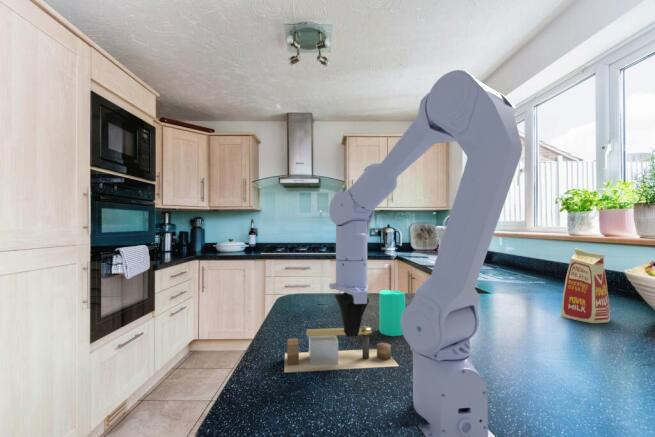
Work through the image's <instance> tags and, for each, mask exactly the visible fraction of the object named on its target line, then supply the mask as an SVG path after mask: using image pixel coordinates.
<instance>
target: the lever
mask: <svg viewBox="0 0 655 437" xmlns="http://www.w3.org/2000/svg"><path fill="white" fill-rule="evenodd" d="M362 334H363V335H369V336H370V335H372V327H371V326H366V325H363V326H360V330H359V334H358V335H362ZM330 335H336V336H346V334H345V331H344V327H333V328H332V327H331V328H329V327H328V328H327V327H326V328H310V329H309V328H306V336H307V337H309V336H330Z"/></svg>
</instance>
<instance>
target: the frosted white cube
mask: <svg viewBox="0 0 655 437" xmlns="http://www.w3.org/2000/svg"><path fill="white" fill-rule="evenodd" d="M338 351H339V339H338V335H330V336H308V352H309V361H310V366H313V365H332V364H338Z"/></svg>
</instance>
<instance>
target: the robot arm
mask: <svg viewBox="0 0 655 437" xmlns="http://www.w3.org/2000/svg"><path fill="white" fill-rule="evenodd" d="M516 110H517V108H516V106H515V105H514V104H513V103H512V102H511V101H510V100H509V99H508V97H506V96H505V95H504V94H503V93H501V92H499V91H497V90H495V89H492V88H491V87H489V86H487V85H486V84H484V83H483V82H481V81H479V80H478V79H476V77H475V76H473V75H472V74H470V73H469V72H468V71H466V70H462V69H461V70H460V69H456V70H451V71H449V72H447V73H445V74H443V75H442V76H440V77H439V79H437V80H436V82H434V84H433V86H432V87H431V89H430V90H429V92H427V94H425V96H423V97H422V99H421V100H420V103H419V107H418V111H417V112H418V113H417V116H416V117H415V118H414V120H413V121H412V122H411V124H410V125H409V126H408V127H407V128H406V129H405V131H404V133H403V134H402V135H401V137H400V138H399V139H398V140H397V142H396V143H395V145H394V146H393V147H392V148H391V150H390V151H389V152H388V154H387V155H386V156H385V158H384V159H383V160H382V161H381V162H380V163H379V162H378V163H371V164H369V165H367V166H366V167H365V168H364V169H363V173H362V174H361V175H360V176H359V177H358V178H357V179H356V181H355V182H354V183H353V184H352V185H351V186H350V187H349V189H345V190H344V191H342V192H341V191H339V192H336V193H335V194H334V195H333V197H332V198H331V200H330V203H329V211H328V212H329V217H330V219H331V221H332V222H333V223H334V224H335V282H334V283H333V282H332V283H329V285H328V286H329V287H328V288H329V289H330V290H336V291H339V292H343V293H340V294H339V293H338V294H335V295H334V298H335V299H336V302H337V304H338V307H339V310H340V313H341V318H342V326H343V328H344V331H345V334H346V335H345V337H348V338H349V337H358V336H359V335H360V334H359V330H360V327H361V323H362V319H363V316H364V314H365V310H366V308H367V306H368V304H369V303H370V298H369V297H368V290H369V284H368V234H369V232H370V228H371V223H372V220H373V218H374V216H375V209H377V208H378V207H379V205H380V204H382V203H383V202H384V200H386V199H387V197H389V196H390V195H391V194H392V193H393V192H394V191H395V190H396V189H397V187H398V177H399V176H400V175H401V174H403V172H405V171H406V170H407V169H408V168H409V167H411V165H413V164H414V163H415V162H416V161H417V160H419V158H421V157H422V156H423V155H424V154H425V153H426V152H427V151H428V150H430V149H431V148H432V147H433V146H434V145H436V144H444V143H445V144H446V143H455V142H457V144H458V145H459V147H460V148H461V150H462V151H463V152H464V154H465V155H466V161H465V162H466V163H465V166H464V167H463V172H462V175H461V179H460V182H459V185H458V189H457V191H456V195H455V198H454V200H453V204H452V207H451V211H450V214H449V217H448V221H447V224H446V225H445V226H446V229H445V233H444V236H443V239H442V242H441V245H440V249H439V248H438V250H439V252H438V251H437V255H436V258H435V262H434V265H433V268H432V271H431V275H430V276H429V277H428V278H426V280H425V281H424V282H423V283H422V284H421V285H420V286H419V287H418V288H417V289H416V291H415V293H414V296H413V299H412V301H411V302H410V303H409V304H408V305H407V306H405V309H404V311H403V313H402V316H401V329H402V333H403V335H402V336H403V337H404V339H405V341H406V342H407V344H408V345H409V350H410V351H412V384H413V385H412V388H413V389H412V391H413V392H412V394H413V396H412V398H413V399H412V400H413V401H412V402H413V403H412V404H413V408H414V410H415V411H416V413H417V414H418V415H420V417H422V418H423V419H425V420H426V421H427V422H428V423H427V424H420V425H418V428H419V429H420V431H421V433H422V434H423V435H424V437H496V436H495V435H494V434H493V433H492V432H491V431H490V429H489V417H488V416H489V415H488V414H489V413H488V412H489V411H488V409H489V408H488V404H489V403H488V387H487V383H486V382H485V380H484V378H483V377H482V375H481V374H480V373H479V372H478V370H477V369H476V368H475V366H474V363H473V362H472V358H471V339H472V338H473V337H474V336H475V335H476V333H477V332H478V329H479V325H480V320H479V319H480V318H479V312H478V311H479V304H480V301H481V296H480V294H479V293H478V292H477V290H476V285H477V282H478V279H479V277H480V274H481V271H482V269H483V264H484V263H485V259H486V256H487V253H488V250H489V247H490V244H491V242H492V240H493V236H494V233H495V232H496V228H497V225H498V222H499V219H500V218H501V214H502V210H503V208H504V205H505V202H506V199H507V196H508V194H509V191H510V187H511V186H512V183H513V180H514V177H515V173H516V171H517V168H518V165H519V162H520V159H521V157H522V152H523V144H522V141H521V137H520V133H519V129H518V125H517V121H516V118H515V117H516V116H515V114H516Z"/></svg>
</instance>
